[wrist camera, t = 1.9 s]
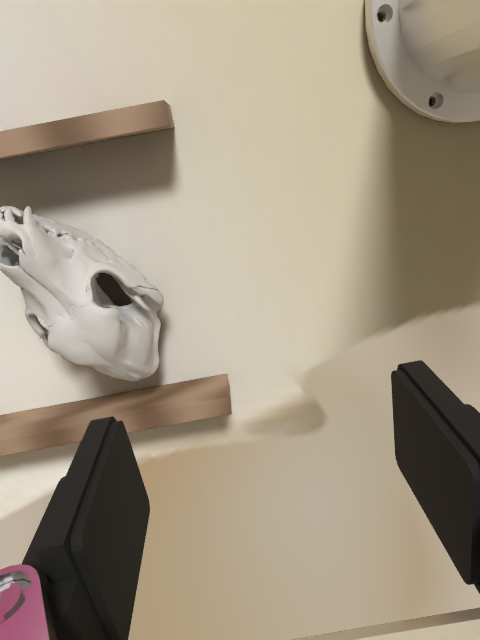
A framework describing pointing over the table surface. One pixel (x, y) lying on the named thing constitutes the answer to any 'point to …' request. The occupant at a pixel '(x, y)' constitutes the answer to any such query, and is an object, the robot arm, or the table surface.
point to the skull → (80, 296)
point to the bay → (129, 407)
